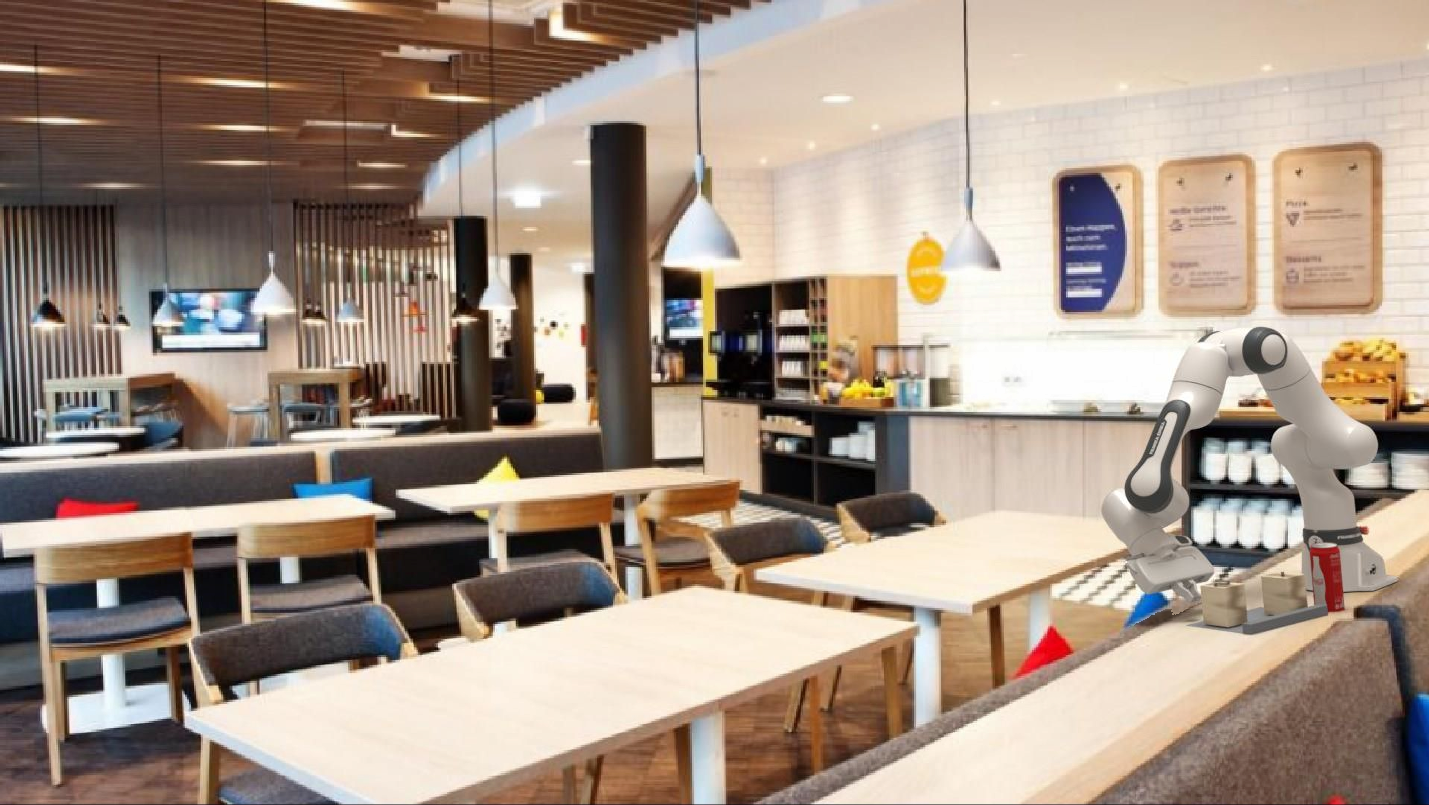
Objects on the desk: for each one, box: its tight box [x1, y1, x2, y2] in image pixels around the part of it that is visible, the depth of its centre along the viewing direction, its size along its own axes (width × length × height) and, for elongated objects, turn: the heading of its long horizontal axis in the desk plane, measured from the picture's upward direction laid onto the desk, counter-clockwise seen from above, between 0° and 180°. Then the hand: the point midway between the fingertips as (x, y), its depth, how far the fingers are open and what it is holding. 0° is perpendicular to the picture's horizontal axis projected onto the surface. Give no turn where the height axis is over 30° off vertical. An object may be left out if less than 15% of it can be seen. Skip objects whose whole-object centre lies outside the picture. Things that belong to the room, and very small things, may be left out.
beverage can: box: [1310, 542, 1346, 613], centre depth 257 cm, size 6×6×15 cm
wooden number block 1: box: [1260, 571, 1309, 615], centre depth 256 cm, size 6×6×8 cm
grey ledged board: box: [1185, 604, 1329, 636], centre depth 254 cm, size 24×16×3 cm, turn 119°
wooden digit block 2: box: [1199, 580, 1248, 627], centre depth 252 cm, size 6×6×8 cm
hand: (1195, 600), depth 258 cm, fingers closed
